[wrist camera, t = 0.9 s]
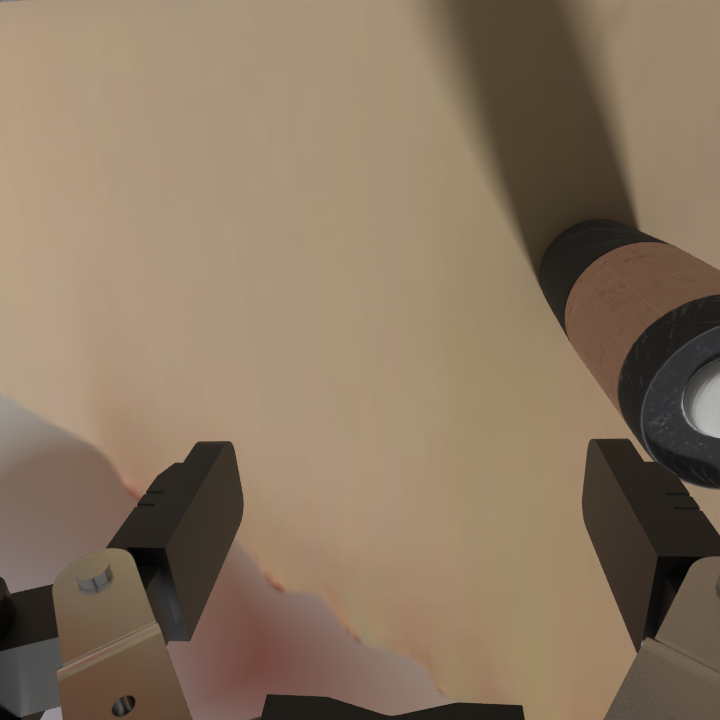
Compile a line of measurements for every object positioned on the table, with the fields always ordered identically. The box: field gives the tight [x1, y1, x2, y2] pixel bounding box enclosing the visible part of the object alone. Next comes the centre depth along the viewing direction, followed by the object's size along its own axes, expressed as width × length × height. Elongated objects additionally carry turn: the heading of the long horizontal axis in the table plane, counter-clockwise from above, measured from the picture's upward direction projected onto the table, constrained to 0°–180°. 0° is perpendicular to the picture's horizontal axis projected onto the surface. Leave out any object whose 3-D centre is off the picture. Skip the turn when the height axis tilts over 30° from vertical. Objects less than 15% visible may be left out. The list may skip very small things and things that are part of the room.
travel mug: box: [540, 220, 720, 490], centre depth 30 cm, size 8×8×20 cm
